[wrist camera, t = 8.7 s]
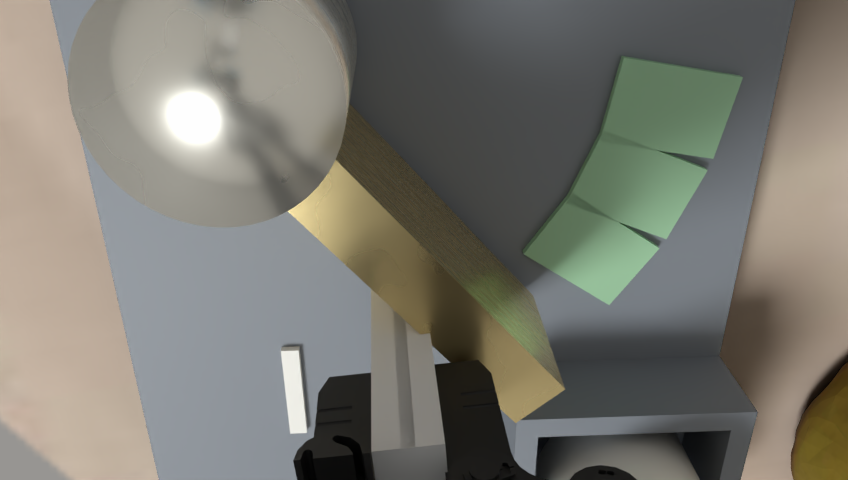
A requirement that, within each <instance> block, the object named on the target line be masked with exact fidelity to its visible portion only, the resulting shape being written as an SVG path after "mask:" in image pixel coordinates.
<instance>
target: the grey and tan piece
mask: <svg viewBox="0 0 848 480" xmlns="http://www.w3.org/2000/svg"><path fill="white" fill-rule="evenodd" d="M356 58H357V37H356V31H355V25H354V21H353V18H352V15H351V11H350V9H349V7H348V5H347V2H346V0H96V1H95V2H94V4H93V5H92V6H91V8H90V9H89V10H88V11H87V13H86V15H85V16H84V18H83V20H82V22H81V24H80V25H79V27H78V30H77V32H76V35H75V38H74V41H73V43H72V47H71V52H70V57H69V62H68V91H69V99H70V104H71V108H72V113H73V116H74V119H75V122H76V125H77V128H78V130H79V133H80V135H81V137H82V139H83V141H84V143H85V145H86V147H87V148H88V150H89V152H90V153H91V155H92V156H93V158H94V159H95V161H96V162H97V163H98V165H99V166H100V167H101V168H102V169H103V171H104V172H105V173H106V174H107V175H108V177H109V178H110V179H112V180H113V181H114V182H115V183H116V184H117V185H118V186H119V187H120V188H121V189H122V190H123V191H125V192H126V193H127V194H129V195H130V196H131V197H133V198H134V199H135V200H137V201H138V202H140V203H142V204H143V205H145V206H147V207H148V208H150V209H152V210H154V211H156V212H158V213H160V214H163V215H165V216H167V217H170V218H173V219H176V220H179V221H182V222H185V223H190V224H195V225H199V226H207V227H239V226H247V225H252V224H256V223H260V222H264V221H267V220H269V219H272V218H274V217H277V216H279V215H282V214H283V213H285V212H287V211H288V212H289V213H290V214H291V215H292V216H293V217H294V218H296V219H297V220H298V221H299V222H300V223H301V224H302V225H303V226H304V227H305V228H306V229H307V230H308V231H309V232H311V233H312V234H313V235H314V236H315V237H316V238H317V239H318V240H319V241H320V242H321V243H322V244H323V245H325V246H326V247H327V248H328V249H329V250H330V251H331V252H332V253H333V254H334V255H335V256H336V257H337V258H339V259H340V260H341V261H342V262H343V263H344V264H345V265H346V266H347V267H348V268H349V269H350V270H351V271H352V272H354V273H355V274H356V275H357V276H358V277H359V278H360V279H361V280H362V281H363V282H364V283H365V284H366V285H368V286H369V287H370V288H371V289H372V290H373V291H374V292H375V293H376V294H377V295H378V296H379V297H380V298H382V299H383V300H384V301H385V302H386V303H387V304H388V305H389V306H390V307H391V308H392V309H393V310H394V311H395V312H397V313H398V314H399V315H400V316H401V317H402V318H403V319H404V320H405V321H406V322H407V323H408V324H409V325H411V326H412V327H413V328H414V329H415V330H416V331H417V332H418V333H419V334H428V333H430V336H431V343H432V346H433V347H434V348H435V349H436V350H437V351H438V352H440V353H441V354H442V355H443V356H444V357H445V358H446V359H447V360H448V361H449V362H450V363H452V362H462V361H471V360H479V361H480V362H481V363H482V364H483V365H484V366H485V367H486V368H487V369H488V370H489V371H490V372H491V374H492V378H493V382H494V386H495V391H496V394H497V398H498V402H499V406H500V409H501V410H502V411H503V412H504V413H505V414H506V415H507V416H508V417H509V418H511V419H512V420H513V421H514V422H515V423H517V422H518V421H520V420H521V419H523V418H524V417H525V416H527V415H528V414H530V413H531V412H533V411H534V410H536V409H537V408H539V407H540V406H542V405H543V404H545V403H546V402H547V401H549V400H550V399H552V398H553V397H555V396H556V395H558V394H559V393H561V392H562V391H564V390H565V387H564V384H563V381H562V378H561V375H560V372H559V369H558V366H557V363H556V361H555V358H554V355H553V352H552V349H551V346H550V343H549V340H548V337H547V334H546V331H545V329H544V326H543V323H542V320H541V317H540V314H539V311H538V308H537V305H536V302H535V299H534V297H533V295H532V294H531V293H530V292H529V291H528V290H527V289H526V288H525V287H524V286H523V284H522V283H521V282H520V281H519V280H518V279H517V278H516V277H515V276H514V275H513V274H512V273H511V272H510V271H509V270H508V269H507V268H506V267H505V266H504V265H503V263H502V262H501V261H500V260H499V259H498V258H497V257H496V256H495V255H494V254H493V253H492V252H491V251H490V250H489V249H488V248H487V247H486V246H485V245H484V244H483V242H482V241H481V240H480V239H479V238H478V237H477V236H476V235H475V234H474V233H473V232H472V231H471V230H470V229H469V228H468V227H467V226H466V225H465V224H464V223H463V222H462V220H461V219H460V218H459V217H458V216H457V215H456V214H455V213H454V212H453V211H452V210H451V209H450V208H449V207H448V206H447V205H446V204H445V203H444V202H443V201H442V199H441V198H440V197H439V196H438V195H437V194H436V193H435V192H434V191H433V190H432V189H431V188H430V187H429V186H428V185H427V184H426V183H425V182H424V181H423V180H422V178H421V177H420V176H419V175H418V174H417V173H416V172H415V171H414V170H413V169H412V168H411V167H410V166H409V165H408V164H407V163H406V162H405V161H404V160H403V159H402V157H401V156H400V155H399V154H398V153H397V152H396V151H395V150H394V149H393V148H392V147H391V146H390V145H389V144H388V143H387V142H386V141H385V140H384V139H383V138H382V136H381V135H380V134H379V133H378V132H377V131H376V130H375V129H374V128H373V127H372V126H371V125H370V124H369V123H368V122H367V121H366V120H365V119H364V118H363V117H362V115H361V114H360V113H359V112H358V111H357V110H356V109H355V108H354V107H353V106H352V105H351V104H350V103H349V102H350V96H351V90H352V84H353V79H354V73H355V67H356Z"/></svg>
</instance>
